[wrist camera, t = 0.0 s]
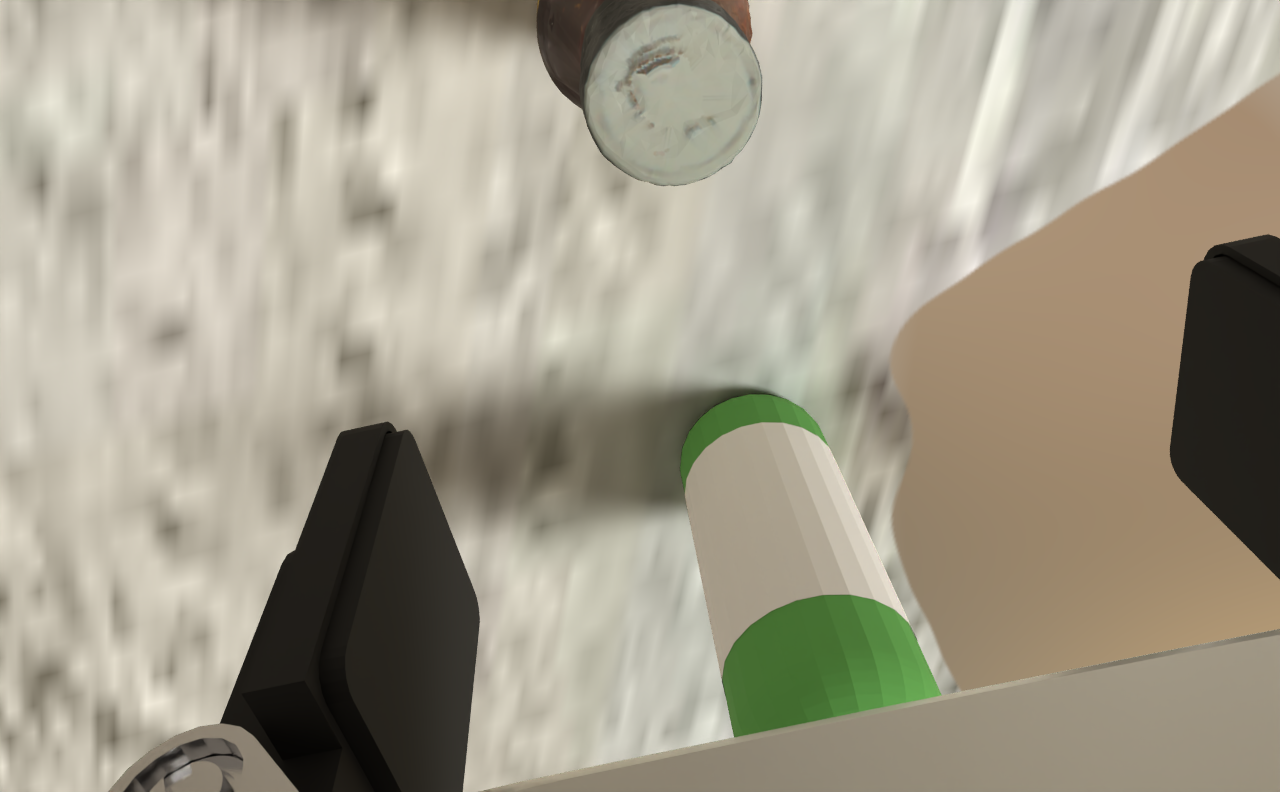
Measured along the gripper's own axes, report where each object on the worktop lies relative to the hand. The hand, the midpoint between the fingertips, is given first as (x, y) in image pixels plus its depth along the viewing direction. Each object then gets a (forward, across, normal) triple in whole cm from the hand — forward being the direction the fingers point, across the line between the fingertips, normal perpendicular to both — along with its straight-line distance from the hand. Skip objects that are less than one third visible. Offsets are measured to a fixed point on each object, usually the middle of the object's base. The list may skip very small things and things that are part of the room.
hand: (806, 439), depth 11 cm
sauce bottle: (+31, 0, -2) cm, 31 cm away
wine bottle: (+31, -2, +22) cm, 38 cm away
